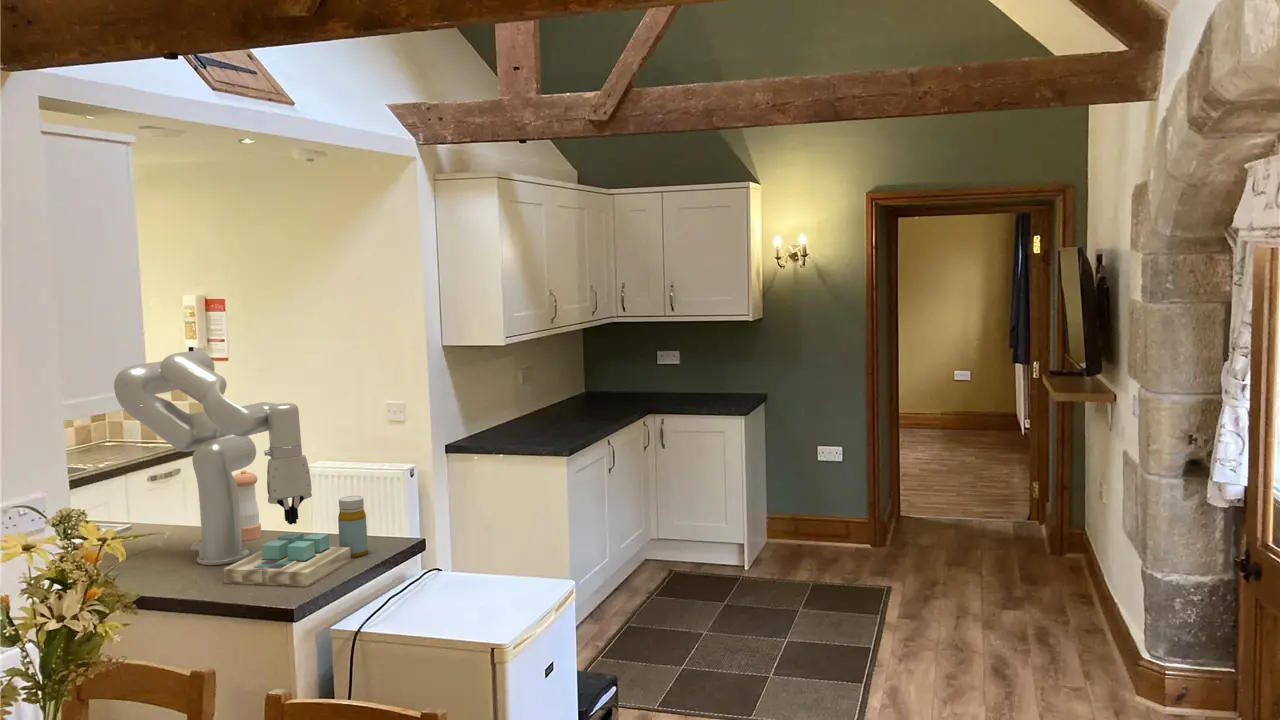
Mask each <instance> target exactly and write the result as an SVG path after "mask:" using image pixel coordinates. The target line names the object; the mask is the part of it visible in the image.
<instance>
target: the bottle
mask: <svg viewBox="0 0 1280 720" xmlns="http://www.w3.org/2000/svg"><path fill="white" fill-rule="evenodd" d="M364 501H365V500H364V497H363V496H362V495H347V496H346V495H345V496H342V497H340V498H339V499H338V507H339V510H338V511H339V513H338V516H337V523H338V524H337V525H338V540H339V541H338V542H339V547H350V554H351V559H352V558H353V559H354V558H359V557H363V556H365V555H366V554H367V553H368V551H369V550H368V549H369V546H368V544H369V543H368V530H367V529H368V528H367V514H366V512H365V510H364V509H365V508H364V507H365V505H364Z"/></svg>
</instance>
